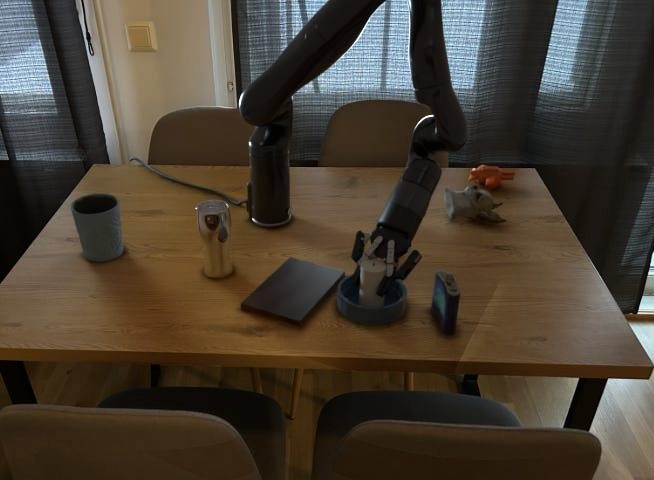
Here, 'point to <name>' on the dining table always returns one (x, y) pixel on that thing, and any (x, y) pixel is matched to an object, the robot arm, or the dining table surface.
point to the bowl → (369, 315)
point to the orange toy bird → (491, 175)
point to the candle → (371, 283)
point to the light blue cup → (98, 226)
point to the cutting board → (293, 291)
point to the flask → (445, 301)
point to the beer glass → (215, 237)
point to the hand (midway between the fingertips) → (367, 290)
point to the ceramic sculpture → (472, 204)
